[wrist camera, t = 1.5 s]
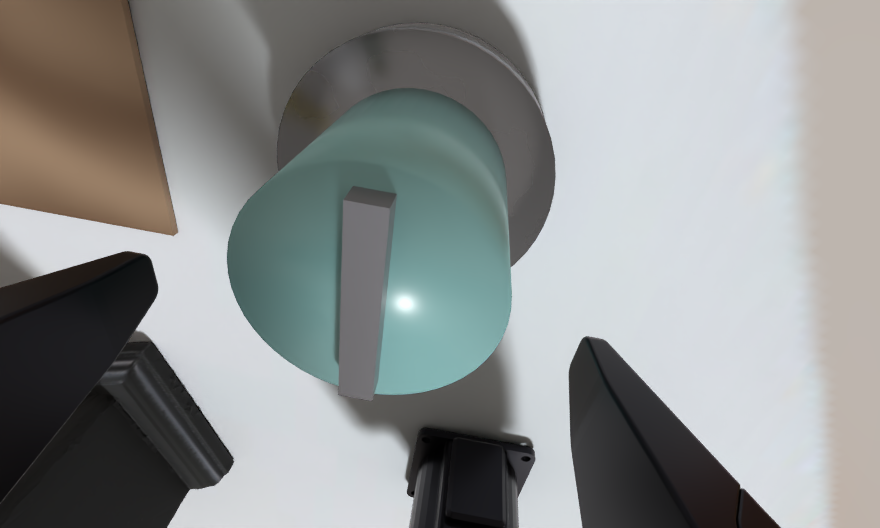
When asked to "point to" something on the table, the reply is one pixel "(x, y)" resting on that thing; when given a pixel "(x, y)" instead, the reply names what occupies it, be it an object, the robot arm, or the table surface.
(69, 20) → the walnut board
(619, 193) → the table surface
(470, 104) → the silver metal disc
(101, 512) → the black drawer cabinet
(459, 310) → the teal cap
